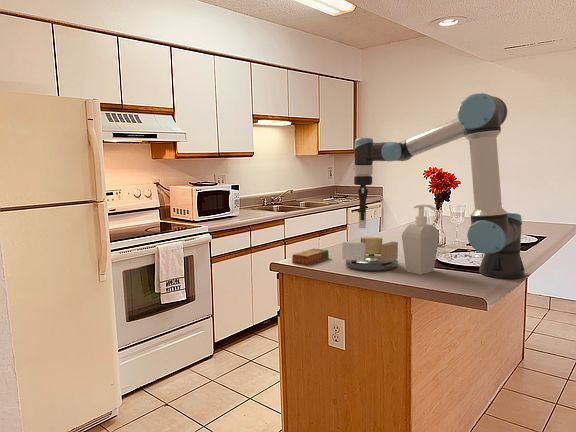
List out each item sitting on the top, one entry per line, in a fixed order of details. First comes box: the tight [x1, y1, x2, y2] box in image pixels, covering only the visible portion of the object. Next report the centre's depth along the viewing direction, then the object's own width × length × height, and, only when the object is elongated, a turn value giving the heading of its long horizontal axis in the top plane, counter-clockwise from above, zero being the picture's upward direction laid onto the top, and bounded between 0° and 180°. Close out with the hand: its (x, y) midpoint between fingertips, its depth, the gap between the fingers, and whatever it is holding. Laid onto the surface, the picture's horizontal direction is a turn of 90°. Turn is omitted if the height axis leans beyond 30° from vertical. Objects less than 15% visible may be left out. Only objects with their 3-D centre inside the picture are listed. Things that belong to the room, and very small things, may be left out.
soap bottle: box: [401, 203, 440, 275], centre depth 170 cm, size 12×10×26 cm
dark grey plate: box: [345, 254, 399, 273], centre depth 183 cm, size 21×21×3 cm
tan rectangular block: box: [380, 241, 399, 263], centre depth 177 cm, size 9×3×8 cm, turn 140°
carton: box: [292, 248, 330, 266], centre depth 194 cm, size 8×16×4 cm, turn 142°
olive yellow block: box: [360, 236, 383, 256], centre depth 190 cm, size 9×3×8 cm, turn 80°
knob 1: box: [341, 241, 367, 262], centre depth 179 cm, size 9×3×8 cm, turn 64°
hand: (362, 225), depth 190 cm, fingers open, 13 cm apart
